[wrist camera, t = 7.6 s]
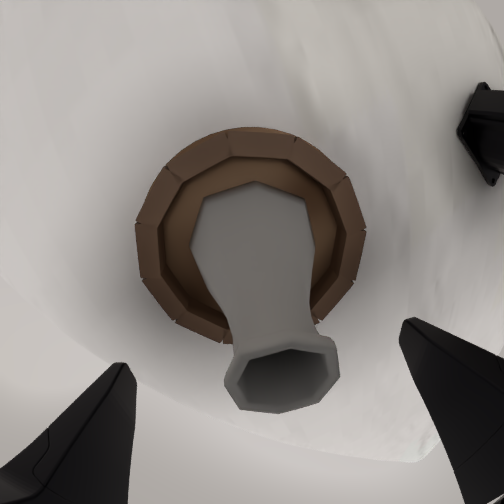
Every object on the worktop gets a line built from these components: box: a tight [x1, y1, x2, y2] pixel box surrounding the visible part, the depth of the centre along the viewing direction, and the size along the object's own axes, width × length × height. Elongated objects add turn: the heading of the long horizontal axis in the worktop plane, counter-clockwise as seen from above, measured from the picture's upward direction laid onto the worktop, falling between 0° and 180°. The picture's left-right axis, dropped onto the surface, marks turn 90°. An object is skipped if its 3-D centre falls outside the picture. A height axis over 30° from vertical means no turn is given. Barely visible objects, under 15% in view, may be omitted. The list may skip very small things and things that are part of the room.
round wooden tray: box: [135, 127, 366, 344], centre depth 15 cm, size 13×13×2 cm
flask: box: [189, 180, 340, 414], centre depth 11 cm, size 7×7×10 cm
